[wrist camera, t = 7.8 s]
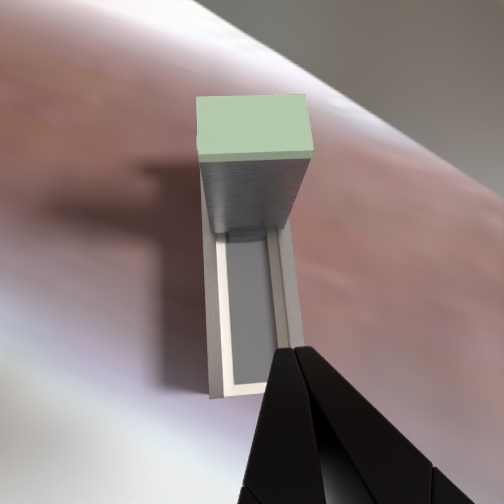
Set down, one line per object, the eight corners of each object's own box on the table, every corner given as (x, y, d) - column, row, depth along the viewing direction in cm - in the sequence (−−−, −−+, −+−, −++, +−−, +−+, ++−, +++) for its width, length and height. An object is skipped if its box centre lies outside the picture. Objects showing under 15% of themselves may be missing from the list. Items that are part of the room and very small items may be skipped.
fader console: (300, 386, 20) (316, 391, 16) (211, 394, 20) (206, 401, 16) (275, 169, 24) (283, 132, 20) (201, 172, 24) (196, 135, 20)
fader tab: (282, 239, 20) (314, 157, 12) (211, 243, 20) (198, 162, 12) (276, 192, 21) (304, 87, 13) (209, 195, 21) (195, 90, 13)
